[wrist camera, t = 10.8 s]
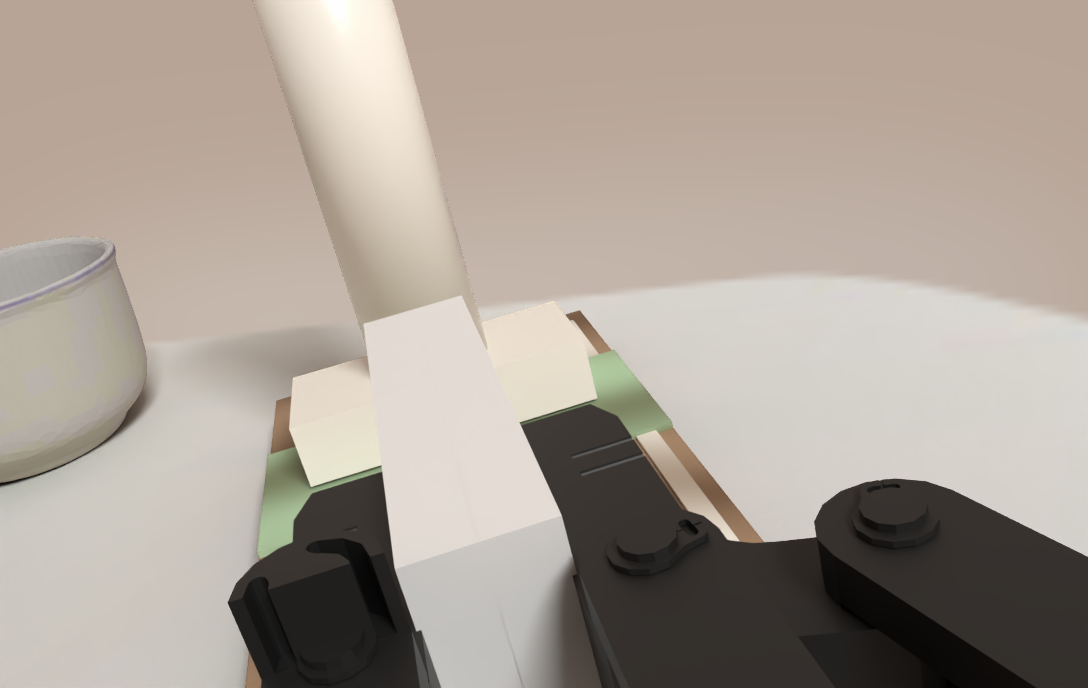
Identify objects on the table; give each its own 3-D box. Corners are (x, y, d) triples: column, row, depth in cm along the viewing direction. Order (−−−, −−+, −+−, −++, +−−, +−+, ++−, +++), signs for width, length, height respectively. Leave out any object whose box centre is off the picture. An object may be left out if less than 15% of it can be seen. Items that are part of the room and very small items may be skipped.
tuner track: (1118, 1061, 13) (1119, 978, 12) (217, 1436, 12) (164, 1365, 11) (587, 345, 39) (578, 305, 38) (289, 435, 37) (274, 396, 37)
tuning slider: (597, 398, 30) (442, -266, 23) (310, 487, 29) (60, -181, 22) (567, 353, 34) (425, -232, 27) (312, 430, 33) (97, -157, 26)
